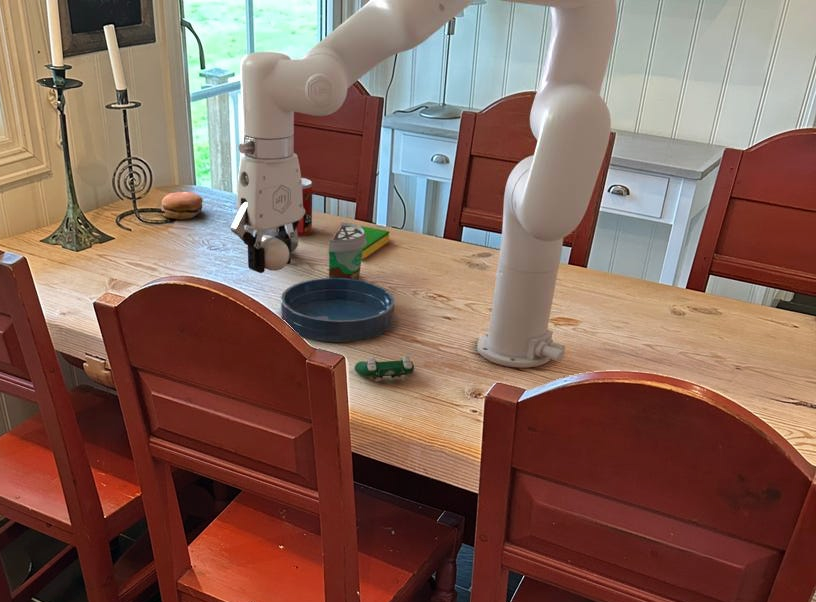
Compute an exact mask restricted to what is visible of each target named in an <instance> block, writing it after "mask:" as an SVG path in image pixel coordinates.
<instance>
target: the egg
mask: <svg viewBox="0 0 816 602" xmlns="http://www.w3.org/2000/svg"><path fill="white" fill-rule="evenodd" d="M261 247H263V248H264V260H265V270H268V271H272V272H276V271H280V270H282V269H284V268H285V267H286V266H287V265H288V264H287V263H288V261H289V257H290V253H289V249H288V247H287V245H286V244H285V243H284V242H283V241H282V240H280V239H277V238H275V237H272V236H269V235H263V238H262V244H261Z"/></svg>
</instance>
